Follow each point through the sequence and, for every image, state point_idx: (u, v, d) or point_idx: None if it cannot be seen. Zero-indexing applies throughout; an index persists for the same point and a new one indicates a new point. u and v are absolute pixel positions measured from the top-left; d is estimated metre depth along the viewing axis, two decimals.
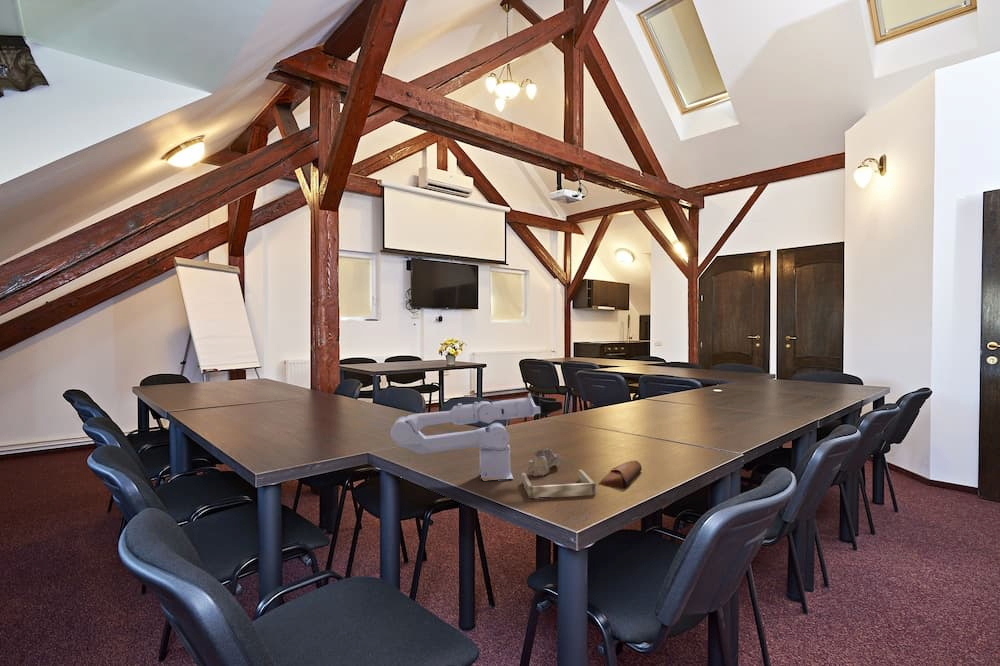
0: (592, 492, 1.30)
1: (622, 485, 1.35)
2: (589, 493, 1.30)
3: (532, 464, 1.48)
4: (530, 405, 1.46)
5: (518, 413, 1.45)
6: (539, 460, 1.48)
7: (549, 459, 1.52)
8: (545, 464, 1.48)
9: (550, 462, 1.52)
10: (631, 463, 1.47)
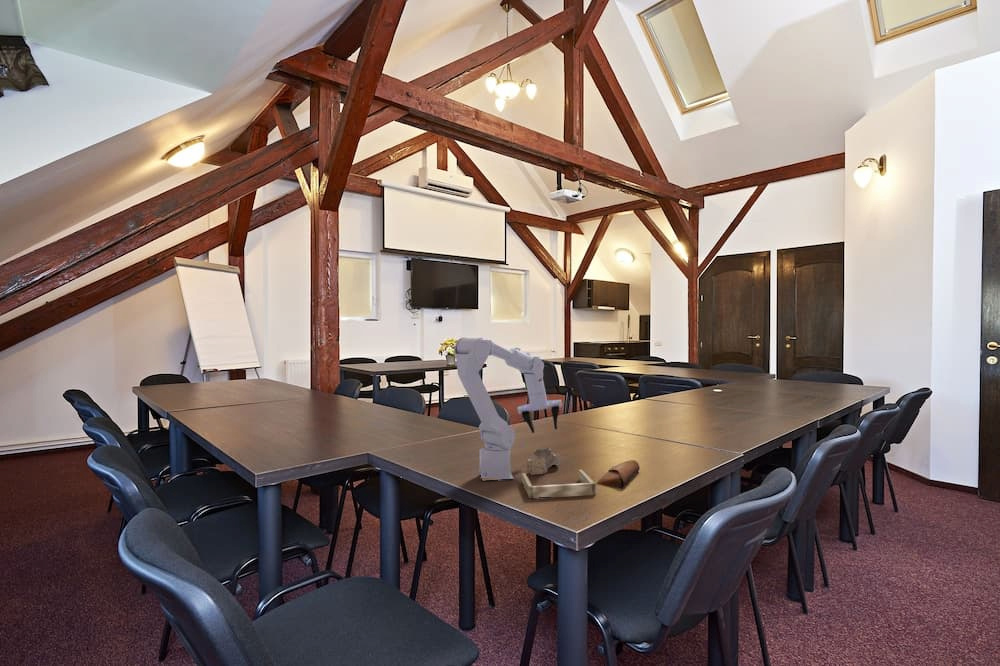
0: (592, 492, 1.30)
1: (620, 484, 1.35)
2: (589, 493, 1.30)
3: (530, 463, 1.49)
4: (547, 401, 1.60)
5: (544, 392, 1.58)
6: (537, 459, 1.49)
7: (548, 458, 1.53)
8: (543, 463, 1.49)
9: (549, 461, 1.53)
10: (629, 463, 1.47)
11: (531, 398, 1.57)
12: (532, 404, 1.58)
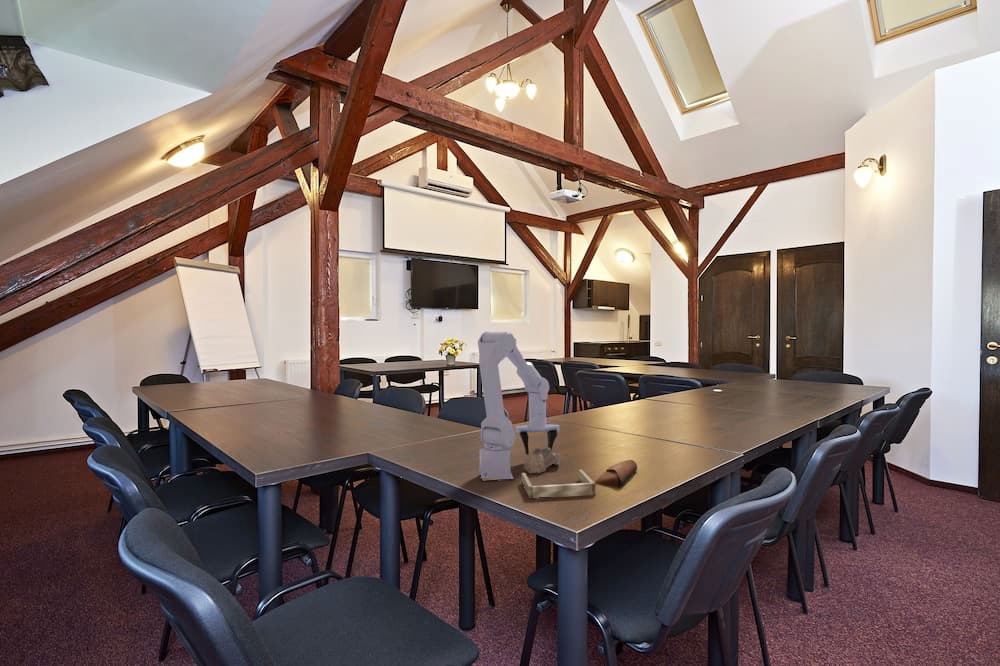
0: (592, 492, 1.30)
1: (617, 484, 1.36)
2: (589, 493, 1.30)
3: (528, 461, 1.51)
4: None
5: (545, 414, 1.62)
6: (535, 458, 1.51)
7: (547, 457, 1.54)
8: (541, 462, 1.50)
9: (549, 460, 1.54)
10: (627, 462, 1.47)
11: (533, 418, 1.60)
12: (533, 424, 1.60)
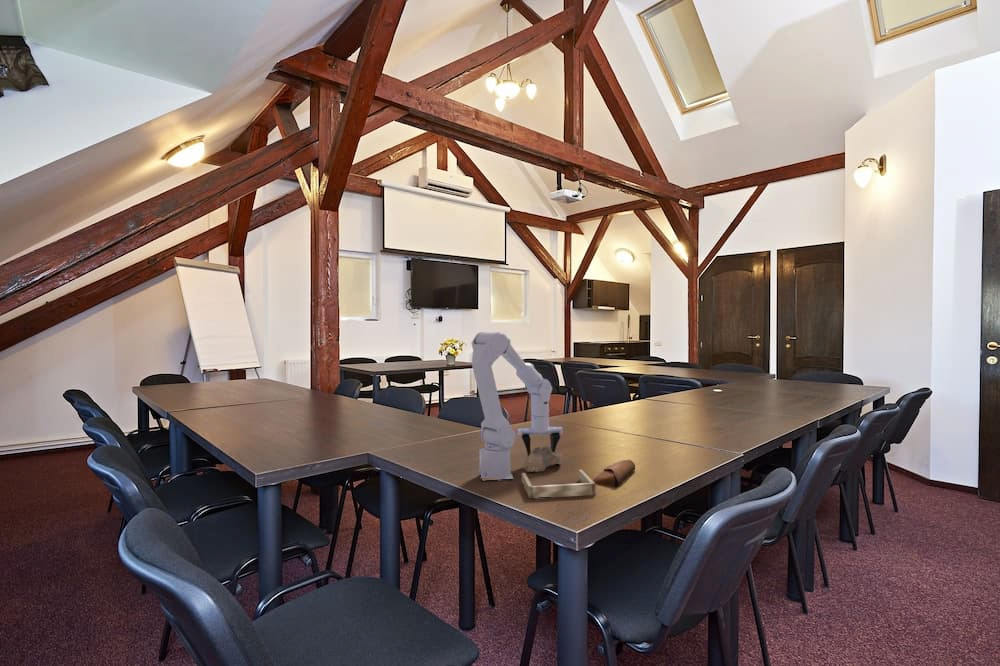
0: (592, 492, 1.30)
1: (614, 484, 1.36)
2: (589, 493, 1.30)
3: (526, 460, 1.52)
4: None
5: (548, 416, 1.58)
6: (534, 457, 1.52)
7: (547, 457, 1.54)
8: (539, 461, 1.51)
9: (549, 459, 1.54)
10: (624, 462, 1.48)
11: (535, 420, 1.56)
12: (535, 427, 1.56)
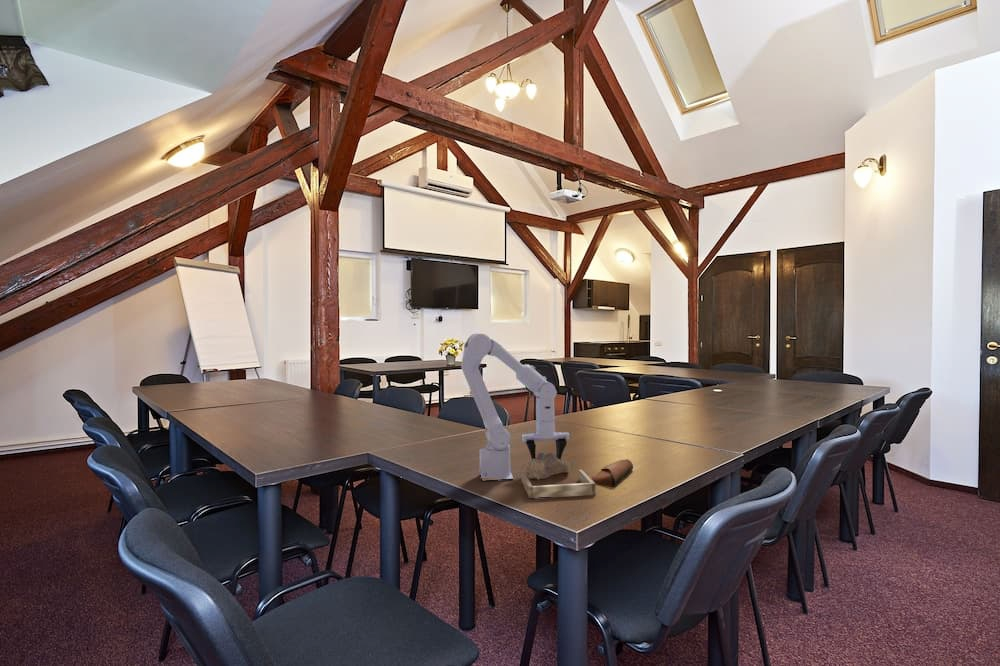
0: (592, 492, 1.30)
1: (611, 483, 1.37)
2: (589, 493, 1.30)
3: (528, 466, 1.45)
4: None
5: (554, 421, 1.49)
6: (536, 463, 1.45)
7: (552, 463, 1.46)
8: (541, 468, 1.44)
9: (553, 467, 1.46)
10: (622, 462, 1.48)
11: (540, 425, 1.48)
12: (540, 432, 1.48)
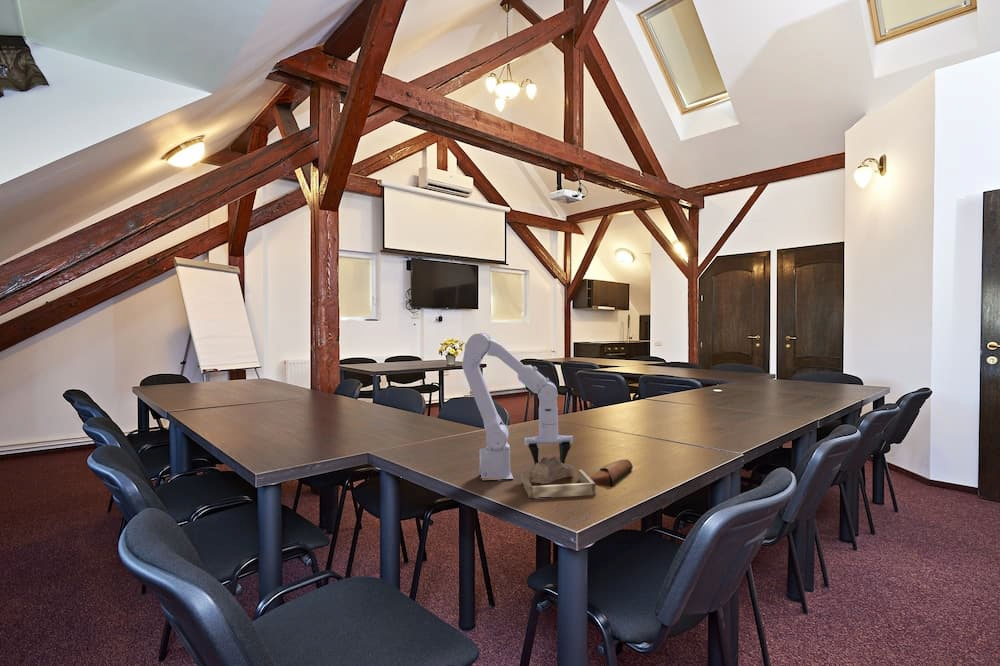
0: (592, 492, 1.30)
1: (609, 483, 1.37)
2: (589, 493, 1.30)
3: (532, 470, 1.41)
4: None
5: (557, 424, 1.45)
6: (539, 467, 1.40)
7: (556, 468, 1.42)
8: (545, 472, 1.39)
9: (557, 471, 1.42)
10: (621, 462, 1.48)
11: (543, 428, 1.43)
12: (543, 435, 1.44)
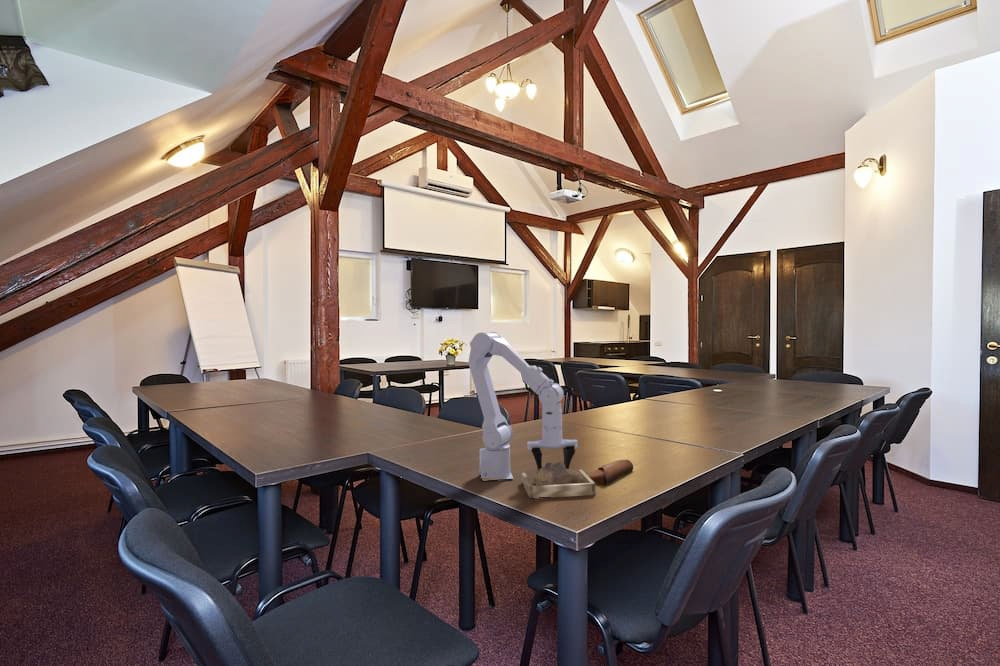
0: (592, 492, 1.30)
1: (603, 482, 1.38)
2: (589, 493, 1.30)
3: (535, 476, 1.36)
4: None
5: (561, 428, 1.40)
6: (543, 473, 1.35)
7: (560, 474, 1.36)
8: (549, 479, 1.34)
9: (562, 477, 1.36)
10: (621, 462, 1.48)
11: (547, 432, 1.38)
12: (547, 440, 1.38)
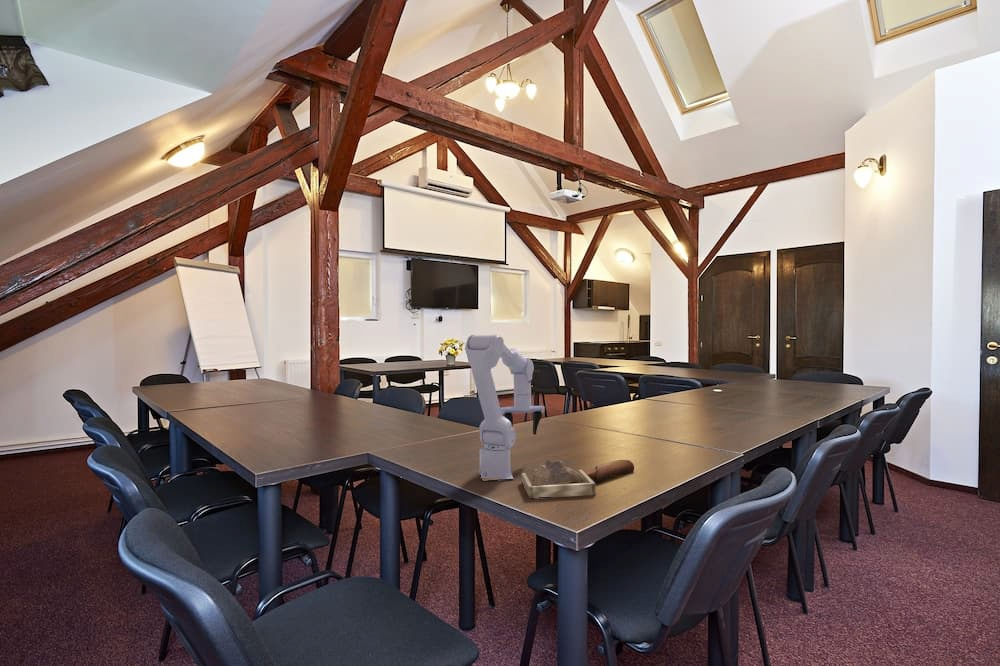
0: (592, 492, 1.30)
1: (594, 480, 1.40)
2: (589, 493, 1.30)
3: (534, 472, 1.39)
4: None
5: (530, 395, 1.61)
6: (541, 470, 1.38)
7: (559, 472, 1.38)
8: (546, 476, 1.37)
9: (561, 476, 1.38)
10: (619, 462, 1.48)
11: (517, 399, 1.60)
12: (517, 405, 1.60)
